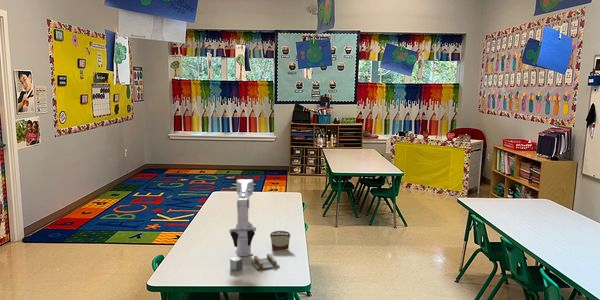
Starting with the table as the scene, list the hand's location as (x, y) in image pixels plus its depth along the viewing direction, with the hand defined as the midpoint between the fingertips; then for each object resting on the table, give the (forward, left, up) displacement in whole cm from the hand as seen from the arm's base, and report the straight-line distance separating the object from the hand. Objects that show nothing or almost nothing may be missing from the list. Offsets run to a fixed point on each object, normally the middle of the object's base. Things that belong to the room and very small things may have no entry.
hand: (242, 246), depth 230 cm
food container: (-21, +29, -13) cm, 38 cm away
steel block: (-2, -3, -13) cm, 14 cm away
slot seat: (-2, +13, -13) cm, 19 cm away
